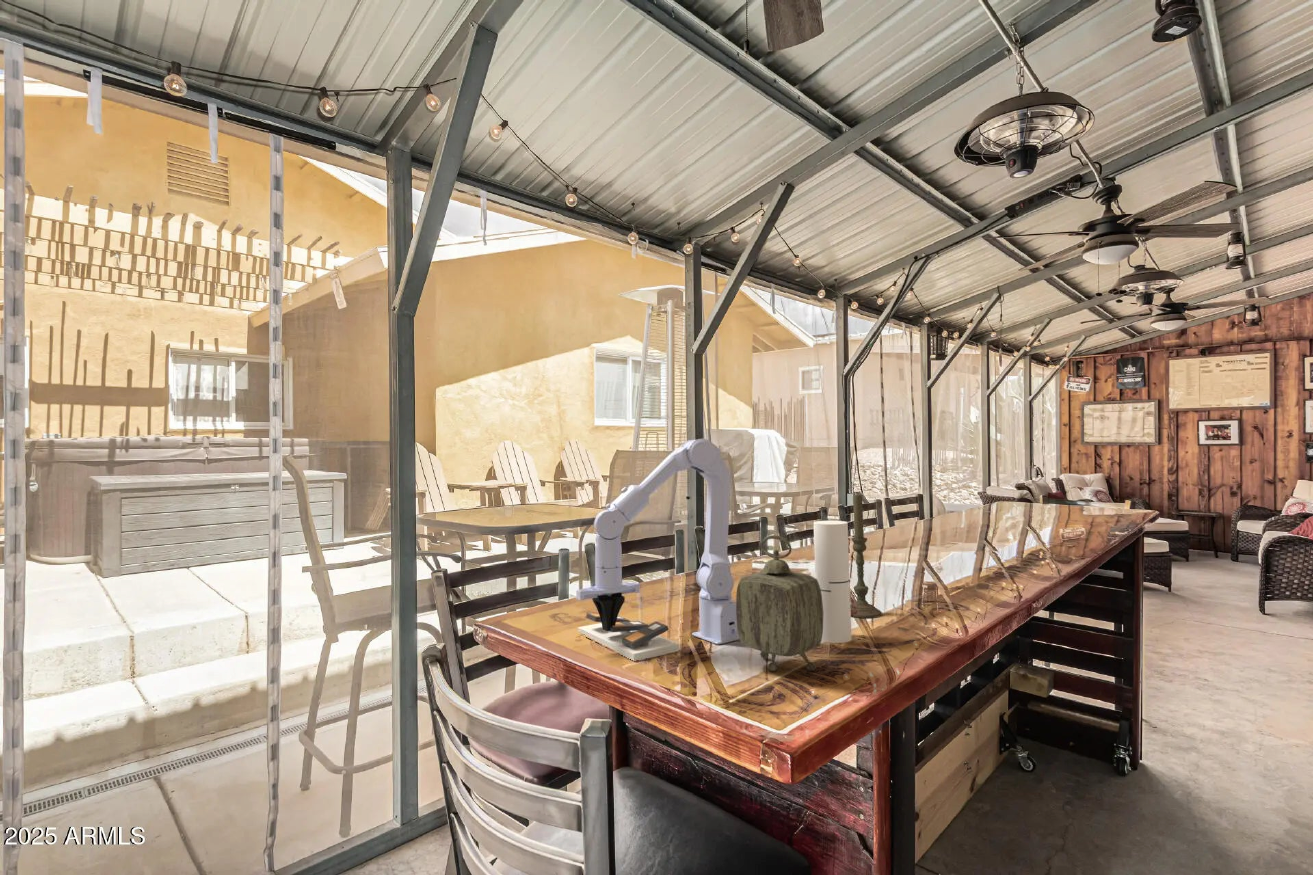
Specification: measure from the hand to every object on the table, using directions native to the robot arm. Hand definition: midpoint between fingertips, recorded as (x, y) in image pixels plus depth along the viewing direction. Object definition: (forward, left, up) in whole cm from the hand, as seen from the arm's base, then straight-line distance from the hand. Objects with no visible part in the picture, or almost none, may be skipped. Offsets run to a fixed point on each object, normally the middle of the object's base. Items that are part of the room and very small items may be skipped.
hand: (608, 629), depth 141 cm
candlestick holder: (-16, -62, -4) cm, 64 cm away
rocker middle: (0, -4, 0) cm, 4 cm away
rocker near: (-8, -4, 0) cm, 9 cm away
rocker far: (+8, -4, 0) cm, 9 cm away
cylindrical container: (-26, -41, -4) cm, 49 cm away
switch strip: (0, -4, -3) cm, 5 cm away
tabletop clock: (-33, -18, -4) cm, 38 cm away
